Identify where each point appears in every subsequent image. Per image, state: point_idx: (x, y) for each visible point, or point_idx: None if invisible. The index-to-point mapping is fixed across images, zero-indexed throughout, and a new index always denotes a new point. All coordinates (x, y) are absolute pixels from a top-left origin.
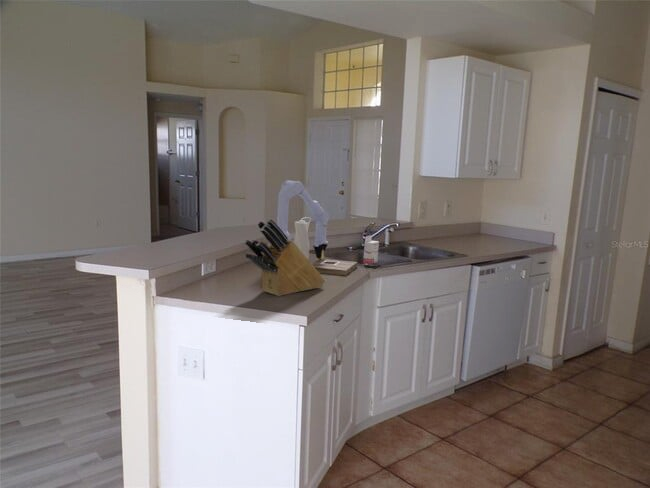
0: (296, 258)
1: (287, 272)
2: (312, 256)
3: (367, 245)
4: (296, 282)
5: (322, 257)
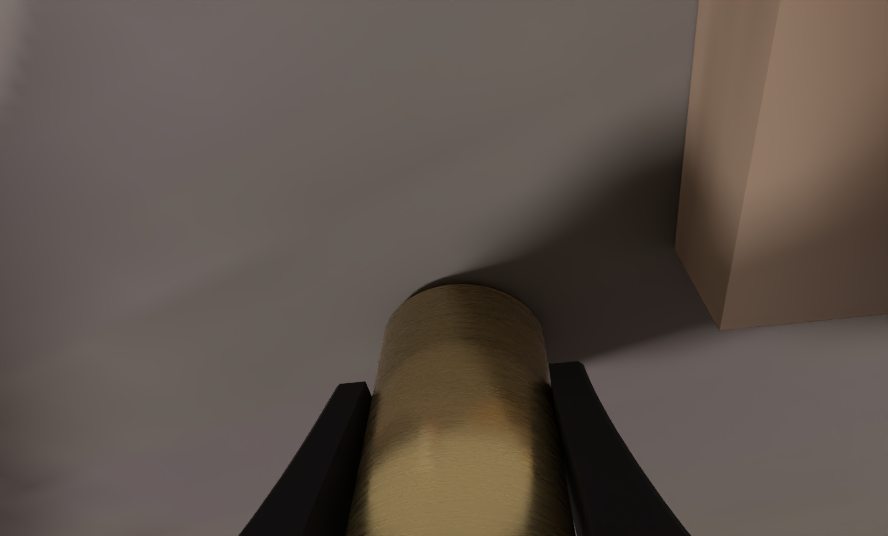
0: None
1: None
2: (202, 521)
3: None
4: None
5: (498, 362)
